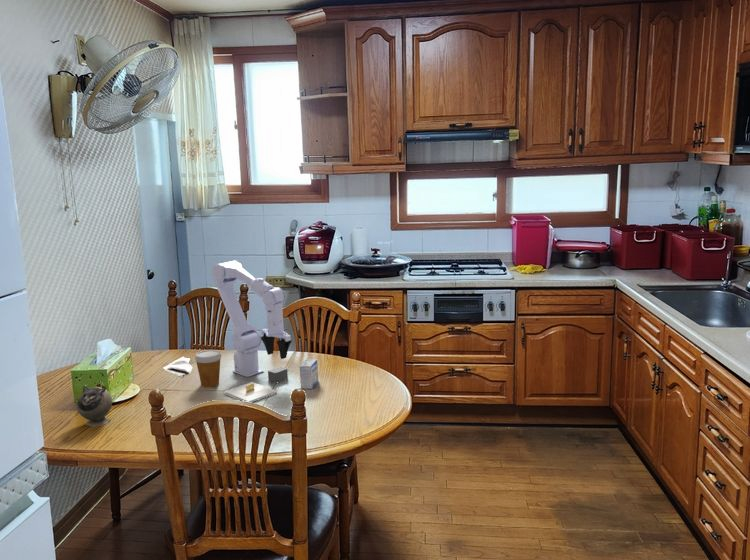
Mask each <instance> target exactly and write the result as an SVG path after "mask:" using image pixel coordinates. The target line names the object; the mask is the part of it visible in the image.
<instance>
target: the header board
mask: <svg viewBox="0 0 750 560" xmlns="http://www.w3.org/2000/svg"><path fill="white" fill-rule="evenodd" d="M275 393H276V394H277V390H275V389H272V388H270V387H266V386H265V385H262V384H260V383H256V382H254V381H250V382H247V383H245V384H241V385H238V386H235V387H233V388H230V389H227V390H225V391H224V395H226V396H229V397H231V398H234V399H235V400H238V401H240V400H244V401H249V402H253V401H256V400H258V399H261V398H264V397H266V398H268V396H269V397H271V396H273V395H272V394H274V395H276V394H275ZM270 395H271V396H270ZM264 399H265V398H264ZM261 400H262V399H261ZM258 401H259V400H258ZM256 402H257V401H256ZM253 403H254V402H253Z"/></svg>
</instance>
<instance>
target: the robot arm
mask: <svg viewBox="0 0 750 560" xmlns="http://www.w3.org/2000/svg"><path fill="white" fill-rule="evenodd" d="M210 275H212V278H213V280H214V283H215V286H216V287H217V291H218V294H219V295H220V298H221V300H222V303H223V305H224V307H225V310H226V312H227V314H228V317H229V318H230V322H231V323H232V326H233V328H234V331H233V332H232V334H231V338H232V343H233V348H234V349H235V351H234V354H233V364H234V366H233V368H234V370H232V372H233V373H235V374H237V375H241V376H243V377H245V378H249V377H252V376H255V375H258V374H260V373H264V369H260V368H259V353H258V350H259V349H260V346H261V344H262V343H263V344H264V347H265V351H266V353H267V355H269V356H270V355H273V354H274V352H275V351H274V347H275V346H274V345H275V344H274V343H275V338H277V339H279V340H277V341H276V345H277V347H278V350H279V357H280V360H284V359H286V358H287V355H288V350H289V348H290V345H291V344H292V337H291V336H292V335H291V334H288V333H287V332H285V331H284V315H283V313H284V312H283V303H284V301H286V292H285V291H284V290H283V288H281V287H280V286H277V287H276V286H274V285H272V284H270V283H268V281H265V279H264V278H263V277H257V278H255V277H254V276H253V275H252V274H251V273H249V272H248V271H247V270H246V268H245V269H244V267H243V265H242V264H241V262H238V260H234V259H233V260H231V261H226V262H222V263H215V264H214V265H213V266H212V269H211V274H210ZM237 280H239V281H241V282H243V283H244V284H245V285H248V286H249V287H250V290H251V291H252V293H254V294H256V296H259V297H260V298H261V299H262V301H263V303H264V308H265V310H266V320H267V322H266V323H267V328H263V329H261V335H262V336H261V335H260V332H258V331H257V329H256V327H255V326H254V325H252V324H249V322H248V320H247V318H246V316H245V314H244V311H243V308H242V305H241V304H240V302H239V300H238V298H237V295H236V293H235V290H234V288H233V286H234V284H236V282H237Z"/></svg>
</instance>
